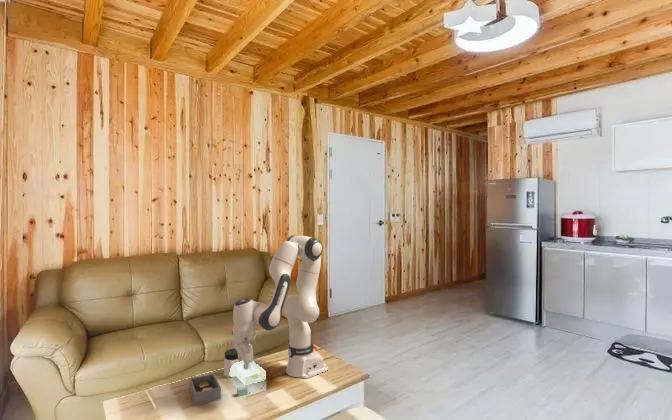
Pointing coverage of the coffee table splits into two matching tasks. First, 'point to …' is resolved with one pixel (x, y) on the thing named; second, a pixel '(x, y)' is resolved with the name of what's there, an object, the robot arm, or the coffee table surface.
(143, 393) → the coffee table surface
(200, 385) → the part
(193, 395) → the tub
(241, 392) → the lid
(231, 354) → the jar
